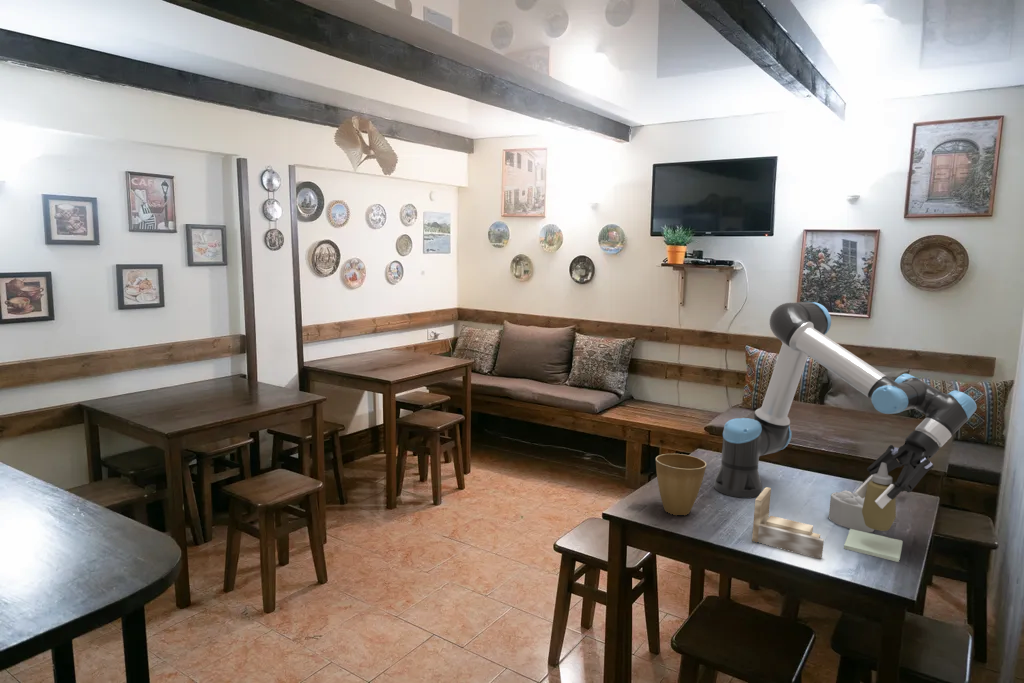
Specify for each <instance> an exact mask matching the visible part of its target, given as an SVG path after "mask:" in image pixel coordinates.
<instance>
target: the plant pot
mask: <svg viewBox="0 0 1024 683" xmlns="http://www.w3.org/2000/svg"><path fill="white" fill-rule="evenodd" d="M706 468H707V462H706V461H705V460H703V459H702V458H699V457H697V456H693V455H689V454H683V453H681V454H680V453H665V454H659V455H657V456H656V457H655V469H656V470H655V471H656V477H657V485H658V491H659V494H660V498H661V502H662V506H663V509H664V512H666V513H667V512H668V514H669V513H670V514H669V515H672V514H673V516H677V515H684V516H688V515H689V514H690V513H691V511H692V509H693V506H694V504H695V502H696V500H697V497H698V495H699V492H700V489H701V486H702V484H703V481H704V476H705V472H706ZM687 514H688V515H687Z"/></svg>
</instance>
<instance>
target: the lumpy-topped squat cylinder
mask: <svg viewBox="0 0 1024 683" xmlns="http://www.w3.org/2000/svg"><path fill="white" fill-rule="evenodd" d="M864 499H865V497H864V498H863V499H862V498H861V497H860V496H859V495H858V494H857V493H856V491H855V492H851V491H849V490H841V491H840V492H838V491H836V492H833V493H831V495H830V500H829V507H828V508H829V510H828V511H829V512H828V519H829V518H830V519H829V520H830V521H832V523H833V522H834V523H835V524H837V525H839V526H841V527H844V528H848V529H849V530H850V529H853V530H858V531H862V532H866V533H873V532H874V531H875V529H871V528H869V527H867V526H866V525H865V522H864V518H863V514H862V508H863V504H864Z"/></svg>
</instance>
